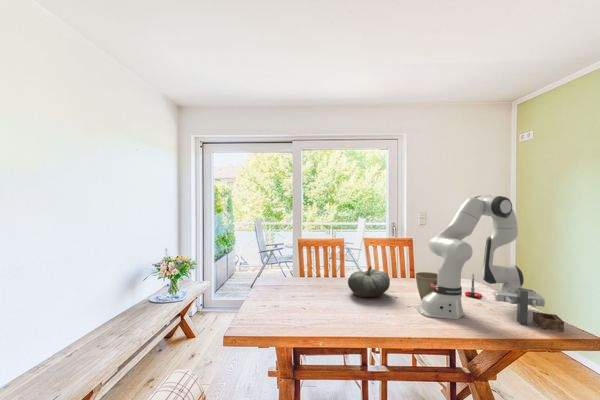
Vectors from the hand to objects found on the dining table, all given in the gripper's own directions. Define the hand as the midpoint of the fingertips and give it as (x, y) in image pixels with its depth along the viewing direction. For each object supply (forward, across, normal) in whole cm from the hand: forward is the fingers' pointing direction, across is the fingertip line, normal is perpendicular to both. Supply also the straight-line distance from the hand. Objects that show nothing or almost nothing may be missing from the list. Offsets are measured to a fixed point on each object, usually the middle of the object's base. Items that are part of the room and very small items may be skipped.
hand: (522, 303), depth 145 cm
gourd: (-13, -75, +10) cm, 77 cm away
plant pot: (-12, -41, +10) cm, 44 cm away
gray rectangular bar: (-1, 0, +10) cm, 10 cm away
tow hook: (-37, -16, +10) cm, 42 cm away
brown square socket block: (-1, +10, +10) cm, 14 cm away
